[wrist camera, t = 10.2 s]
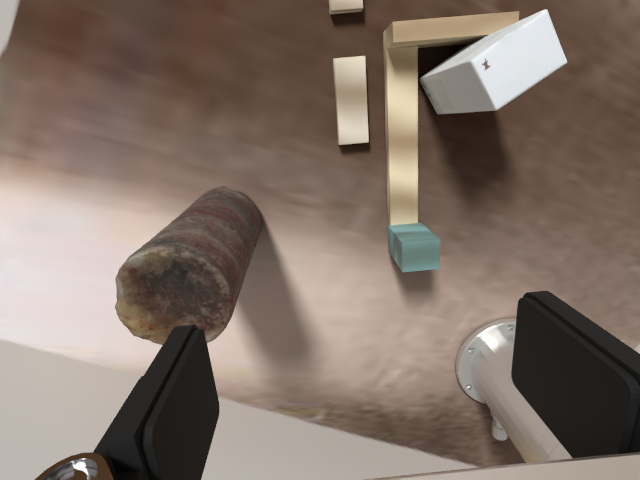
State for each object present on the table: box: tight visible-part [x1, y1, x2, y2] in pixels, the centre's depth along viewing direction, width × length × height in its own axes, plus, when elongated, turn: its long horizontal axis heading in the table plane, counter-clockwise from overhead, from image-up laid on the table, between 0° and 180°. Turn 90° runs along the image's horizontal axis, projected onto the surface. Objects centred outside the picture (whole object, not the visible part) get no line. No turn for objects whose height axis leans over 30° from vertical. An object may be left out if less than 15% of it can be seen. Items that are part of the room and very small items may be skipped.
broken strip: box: [329, 0, 369, 145], centre depth 35 cm, size 22×3×1 cm, turn 5°
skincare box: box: [419, 9, 567, 114], centre depth 31 cm, size 6×4×12 cm
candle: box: [115, 187, 261, 345], centre depth 31 cm, size 8×7×20 cm
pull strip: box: [383, 11, 519, 272], centre depth 35 cm, size 22×11×7 cm, turn 5°
